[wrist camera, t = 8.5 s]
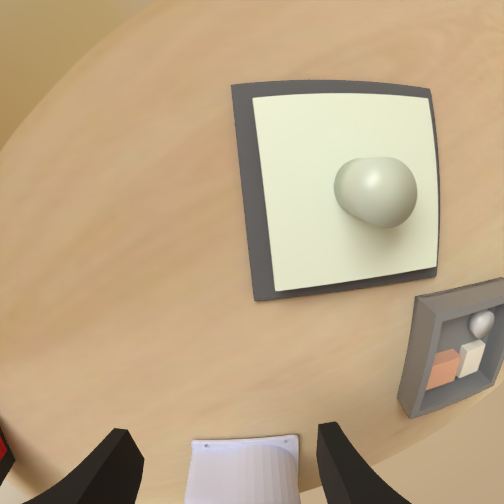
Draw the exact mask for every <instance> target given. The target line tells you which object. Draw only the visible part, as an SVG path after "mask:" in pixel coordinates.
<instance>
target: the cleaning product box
mask: <svg viewBox="0 0 504 504" xmlns="http://www.w3.org/2000/svg"><path fill="white" fill-rule="evenodd" d="M15 461H16V460H15V458H14V456H13V454H12V452H11V450H10V448H9V446H8V444H7V442H6V440H5V437H4V435H3V433H2V430H1V428H0V486H1V484H2V482H3V480H4V479H5V477H6V475H7V474H8V472H9V470H10V469H11V467H12V465H13V464H14V462H15Z"/></svg>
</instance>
